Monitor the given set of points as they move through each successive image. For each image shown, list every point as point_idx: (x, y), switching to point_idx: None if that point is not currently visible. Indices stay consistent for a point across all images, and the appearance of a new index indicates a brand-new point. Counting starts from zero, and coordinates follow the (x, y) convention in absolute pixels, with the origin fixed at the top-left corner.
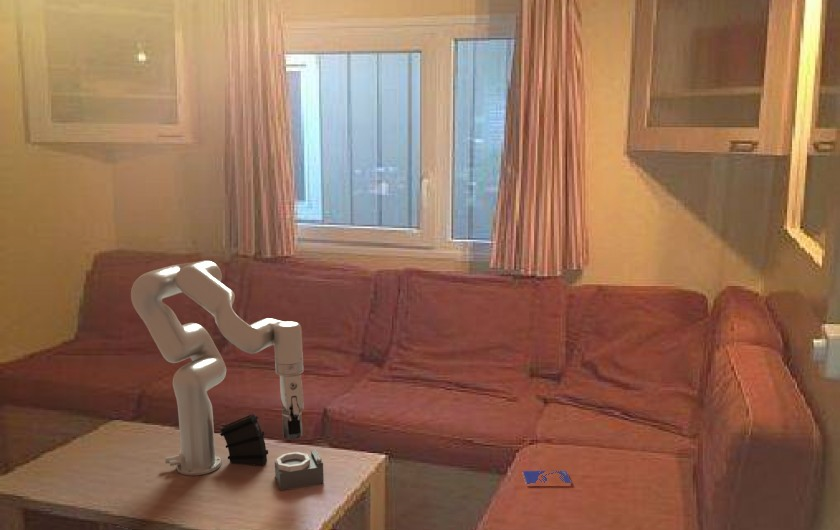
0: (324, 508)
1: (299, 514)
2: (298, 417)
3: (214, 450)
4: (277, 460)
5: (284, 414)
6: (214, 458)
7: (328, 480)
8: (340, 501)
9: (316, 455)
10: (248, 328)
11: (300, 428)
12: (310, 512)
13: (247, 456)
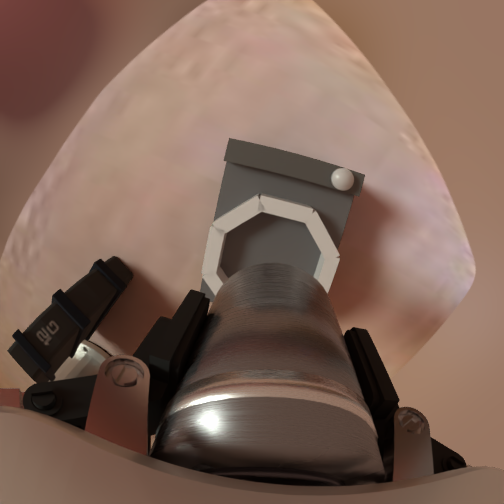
0: (449, 244)
1: (431, 302)
2: (423, 434)
3: (80, 375)
4: None
5: None
6: (92, 367)
7: (333, 150)
8: (449, 193)
9: (287, 163)
10: None
11: (336, 320)
12: (441, 279)
13: (104, 315)
